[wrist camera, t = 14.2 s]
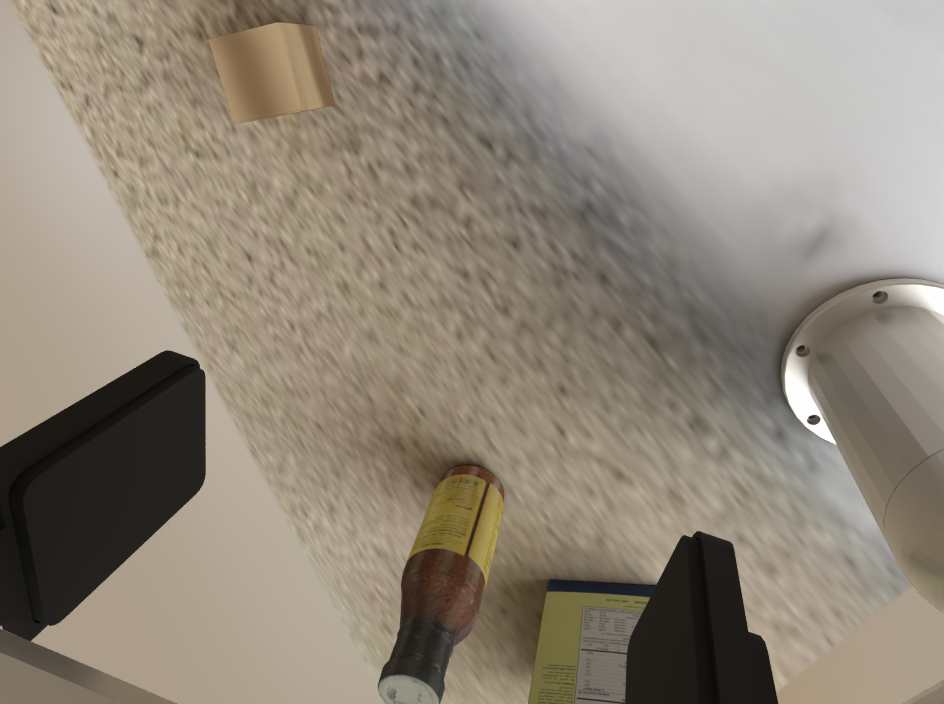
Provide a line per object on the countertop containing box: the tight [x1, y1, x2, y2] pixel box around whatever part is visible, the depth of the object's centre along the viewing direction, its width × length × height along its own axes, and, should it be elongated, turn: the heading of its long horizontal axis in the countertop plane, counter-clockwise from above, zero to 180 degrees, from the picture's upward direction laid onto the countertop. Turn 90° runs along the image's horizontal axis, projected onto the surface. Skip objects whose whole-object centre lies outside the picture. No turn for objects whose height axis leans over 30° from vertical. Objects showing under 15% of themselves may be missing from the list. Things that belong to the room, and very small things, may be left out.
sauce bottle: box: [378, 465, 504, 704], centre depth 46 cm, size 6×6×20 cm
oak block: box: [208, 22, 335, 124], centre depth 40 cm, size 5×5×5 cm
